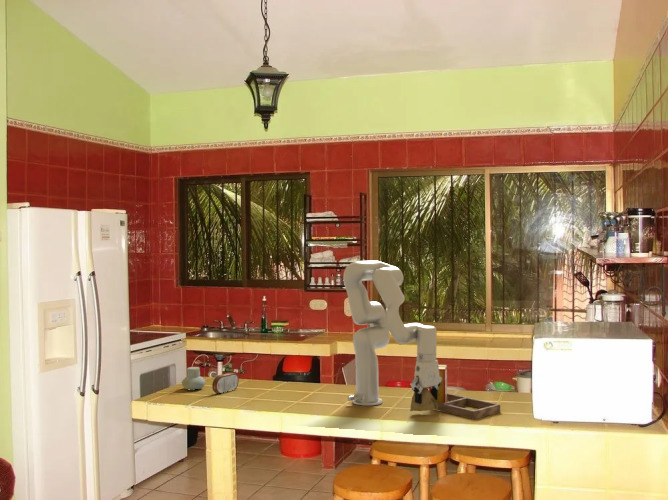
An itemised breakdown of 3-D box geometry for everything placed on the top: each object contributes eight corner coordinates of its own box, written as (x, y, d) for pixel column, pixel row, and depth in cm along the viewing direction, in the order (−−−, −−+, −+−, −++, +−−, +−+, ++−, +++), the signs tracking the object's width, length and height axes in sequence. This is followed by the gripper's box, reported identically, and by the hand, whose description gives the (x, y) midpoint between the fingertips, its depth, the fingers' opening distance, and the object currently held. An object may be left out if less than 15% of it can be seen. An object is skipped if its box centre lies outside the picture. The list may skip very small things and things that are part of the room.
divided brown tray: (474, 419, 266) (474, 411, 266) (412, 404, 291) (411, 396, 291) (500, 412, 276) (500, 404, 276) (438, 397, 301) (437, 391, 301)
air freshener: (179, 388, 328) (179, 367, 327) (195, 386, 333) (194, 365, 333) (192, 392, 320) (191, 370, 319) (207, 389, 325) (207, 368, 325)
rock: (442, 401, 278) (418, 395, 282) (441, 388, 272) (417, 381, 277) (433, 423, 271) (409, 416, 275) (431, 409, 265) (407, 402, 269)
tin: (235, 388, 326) (234, 370, 326) (240, 389, 324) (239, 371, 324) (211, 394, 314) (211, 376, 314) (216, 395, 312) (216, 377, 312)
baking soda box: (445, 407, 285) (444, 368, 285) (429, 406, 287) (428, 367, 286) (447, 401, 294) (446, 364, 294) (431, 401, 296) (431, 363, 296)
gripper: (418, 361, 265) (417, 406, 266) (448, 356, 276) (448, 399, 277) (404, 358, 271) (403, 402, 271) (434, 353, 282) (434, 396, 282)
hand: (426, 401), depth 274 cm, fingers closed on rock, 8 cm apart
